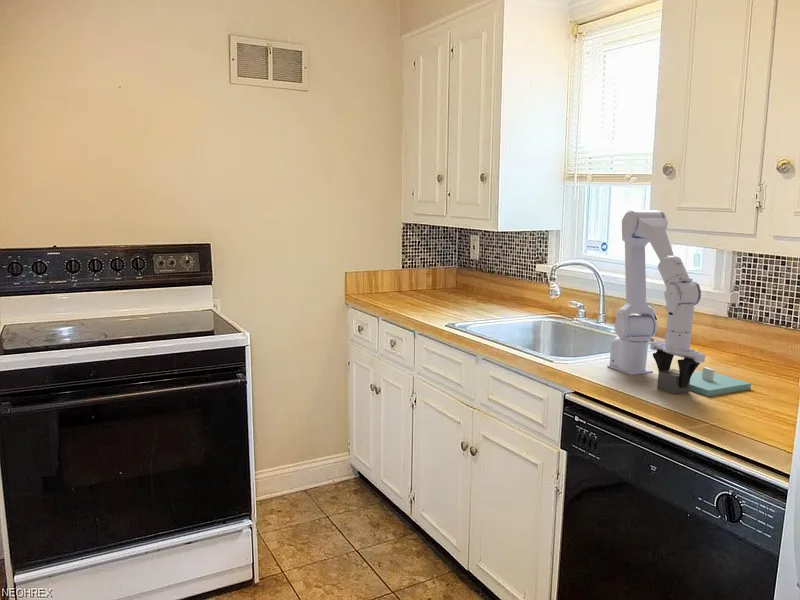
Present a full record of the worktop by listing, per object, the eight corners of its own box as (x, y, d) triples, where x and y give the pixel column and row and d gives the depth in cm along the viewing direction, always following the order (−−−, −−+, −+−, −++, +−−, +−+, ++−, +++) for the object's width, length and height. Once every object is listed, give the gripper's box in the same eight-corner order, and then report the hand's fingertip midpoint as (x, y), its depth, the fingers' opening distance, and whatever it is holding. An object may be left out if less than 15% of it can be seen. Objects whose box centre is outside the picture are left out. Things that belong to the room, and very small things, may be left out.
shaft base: (664, 381, 168) (666, 365, 167) (705, 375, 175) (707, 359, 174) (708, 396, 156) (710, 378, 155) (750, 389, 163) (752, 371, 163)
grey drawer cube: (656, 388, 162) (658, 369, 161) (671, 386, 164) (673, 367, 163) (674, 394, 157) (676, 375, 156) (688, 391, 159) (690, 373, 159)
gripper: (643, 325, 163) (639, 377, 165) (692, 337, 150) (686, 394, 152) (663, 324, 166) (658, 375, 168) (713, 335, 153) (707, 390, 155)
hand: (673, 383), depth 160 cm, fingers closed on grey drawer cube, 5 cm apart
